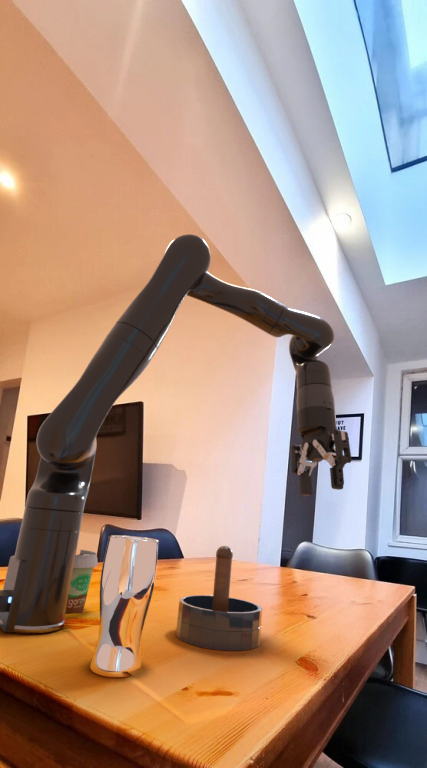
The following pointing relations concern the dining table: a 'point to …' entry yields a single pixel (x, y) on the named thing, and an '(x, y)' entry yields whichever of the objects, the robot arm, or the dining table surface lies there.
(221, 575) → the rod
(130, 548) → the beer glass
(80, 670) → the dining table surface
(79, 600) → the food container
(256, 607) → the bowl
